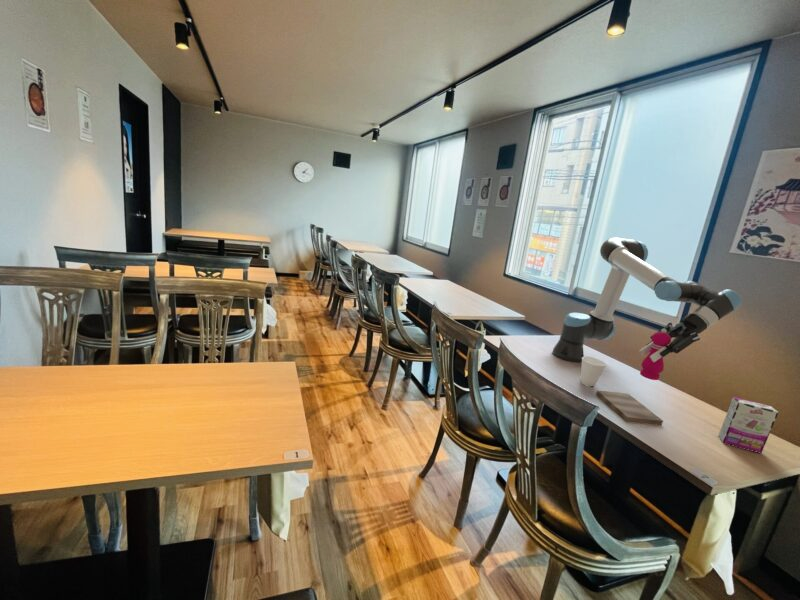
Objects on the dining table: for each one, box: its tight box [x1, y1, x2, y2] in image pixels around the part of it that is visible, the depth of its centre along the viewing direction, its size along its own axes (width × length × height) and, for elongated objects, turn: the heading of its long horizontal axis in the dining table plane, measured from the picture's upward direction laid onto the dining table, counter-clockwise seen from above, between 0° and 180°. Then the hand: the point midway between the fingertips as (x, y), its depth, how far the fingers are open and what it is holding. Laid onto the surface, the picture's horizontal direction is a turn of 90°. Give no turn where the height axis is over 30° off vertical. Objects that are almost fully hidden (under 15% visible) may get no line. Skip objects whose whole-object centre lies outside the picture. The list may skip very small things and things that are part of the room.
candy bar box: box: [717, 396, 780, 454], centre depth 129 cm, size 11×5×16 cm, turn 68°
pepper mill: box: [639, 328, 672, 381], centre depth 143 cm, size 7×7×20 cm
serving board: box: [595, 389, 664, 426], centre depth 145 cm, size 20×14×2 cm
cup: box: [579, 356, 607, 387], centre depth 163 cm, size 10×10×11 cm
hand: (646, 356), depth 143 cm, fingers closed on pepper mill, 5 cm apart
